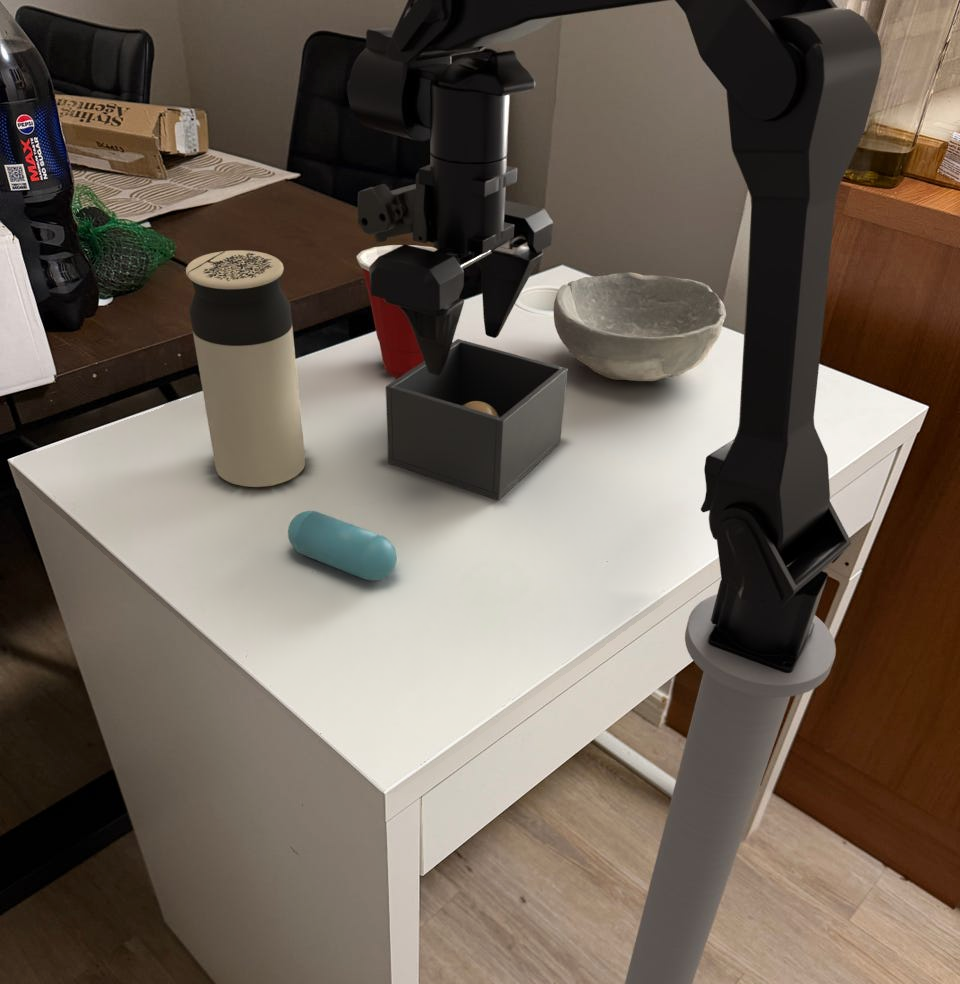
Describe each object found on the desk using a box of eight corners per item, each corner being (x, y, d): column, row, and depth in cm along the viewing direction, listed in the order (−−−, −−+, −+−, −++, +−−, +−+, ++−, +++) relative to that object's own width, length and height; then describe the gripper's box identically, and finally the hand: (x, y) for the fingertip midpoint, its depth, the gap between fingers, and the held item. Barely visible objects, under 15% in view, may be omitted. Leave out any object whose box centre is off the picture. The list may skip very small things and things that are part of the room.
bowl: (519, 377, 102) (523, 303, 97) (592, 324, 113) (600, 256, 108) (674, 424, 95) (688, 347, 90) (736, 362, 107) (751, 291, 101)
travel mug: (323, 459, 87) (306, 260, 76) (269, 499, 82) (242, 292, 70) (254, 437, 90) (227, 242, 78) (197, 474, 85) (160, 270, 73)
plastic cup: (476, 356, 106) (479, 245, 98) (441, 398, 98) (442, 280, 90) (386, 340, 108) (382, 231, 100) (345, 379, 100) (337, 264, 92)
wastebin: (560, 443, 91) (567, 368, 86) (498, 500, 83) (503, 421, 78) (456, 411, 96) (457, 338, 91) (388, 463, 87) (385, 386, 82)
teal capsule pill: (406, 571, 75) (405, 533, 72) (380, 595, 72) (378, 557, 70) (308, 534, 78) (305, 497, 76) (280, 555, 76) (276, 517, 74)
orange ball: (507, 444, 90) (510, 400, 87) (484, 463, 87) (486, 418, 84) (467, 432, 91) (469, 388, 89) (443, 449, 88) (444, 405, 86)
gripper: (444, 115, 80) (443, 299, 90) (303, 162, 67) (320, 370, 77) (562, 135, 76) (547, 326, 86) (435, 190, 63) (435, 406, 73)
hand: (464, 354), depth 81 cm, fingers open, 9 cm apart
